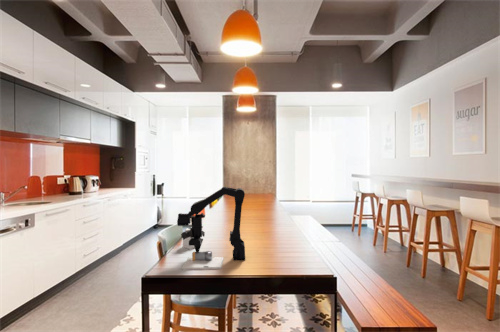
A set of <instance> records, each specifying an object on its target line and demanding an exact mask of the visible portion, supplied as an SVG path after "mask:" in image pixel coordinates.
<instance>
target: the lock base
mask: <svg viewBox="0 0 500 332" xmlns="http://www.w3.org/2000/svg"><path fill="white" fill-rule="evenodd" d="M223 263H224V256H222V257H221V256H217V257H215V256H214V257H213V256H212V260H210V261H205V260H195V261H192V257H188V258H187V259H186V261H185V262H184V264H183V266H182V270H183V271H184V270H185V271H186V270H189V271H190V270H222V267H223Z"/></svg>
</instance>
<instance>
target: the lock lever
mask: <svg viewBox="0 0 500 332" xmlns="http://www.w3.org/2000/svg"><path fill="white" fill-rule="evenodd" d="M191 256H192V257H191V258H192V261H195V260H205V261H210V260H212V257H213V252H212V251H211V250H206V251H199V252H196V251H193V252H192V255H191Z"/></svg>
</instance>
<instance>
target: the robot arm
mask: <svg viewBox="0 0 500 332" xmlns="http://www.w3.org/2000/svg"><path fill="white" fill-rule="evenodd" d="M224 195H226V196H229V197H233V198H234V206H235V207H234V216H233V217H234V219H233V228H232V231H231V230H229V231H230V232H229V240H228V241H229V242H230V245H231V246H232V247H233V250H232V260H233V261H235V262H236V261H246V247H245V240H244V239H242V238H241V218H242V206H243V203H244V199H245V195H246V193H245V191H244V189H243V188H240V187H239V188H234V187H227V186H222V187H221V188H220V189H218V190H217V191H215V192H213V193H212V194H209V196H207V197H206V198H204V199H201V200H198V201H195V202H194V203H192V205H191V206H190V211H188V213H182V212H181V213H178V215H177V220H176V221H177V222H176V225H177V227H185V226H186V227H188V226H190V225H191V227H190V228H191V229H190V230H188V231H183V232H181V234H180V235H181V238H182V241H183V240H184V239H186V238H188V237H190V238H191V239H190V240H189V245H194V247H195V248H194V249H195V252H200V249H201V247H202V244H203V241H204V238H205V234H206V233H205V231H204V230H203V227H204V225H203V219H204V218H206V214H204V213H203V212H202V211H204V210H205V208H207V206H209V205H210V204H212V203H214V202H215V201H217V200H219V199H220V198H222V197H223V196H224ZM202 237H204V238H202Z"/></svg>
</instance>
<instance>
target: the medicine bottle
mask: <svg viewBox="0 0 500 332" xmlns="http://www.w3.org/2000/svg"><path fill="white" fill-rule="evenodd" d="M191 228H192V227H187V228H185V231H188V230H190V229H191ZM185 231H184V232H185ZM190 239H191V238H190V237H188V238H186V239H184V240H183V239H182V248H184V249H188V250H192V249H195V247H194V245H189V240H190Z"/></svg>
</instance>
